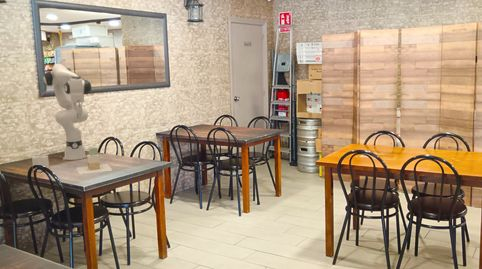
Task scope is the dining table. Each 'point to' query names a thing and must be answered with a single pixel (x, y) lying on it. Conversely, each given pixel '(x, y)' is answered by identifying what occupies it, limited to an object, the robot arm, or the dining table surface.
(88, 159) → the cream tower block
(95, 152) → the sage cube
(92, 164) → the oak tower block
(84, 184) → the dining table surface
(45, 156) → the toilet tissue
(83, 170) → the cream square board
